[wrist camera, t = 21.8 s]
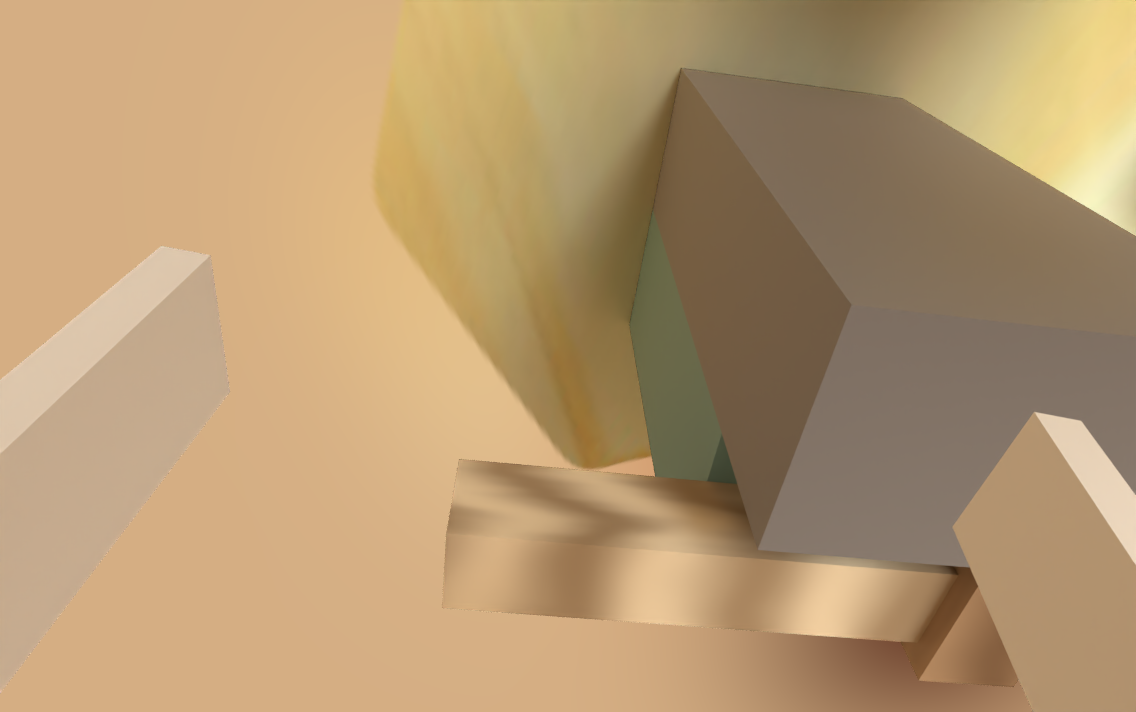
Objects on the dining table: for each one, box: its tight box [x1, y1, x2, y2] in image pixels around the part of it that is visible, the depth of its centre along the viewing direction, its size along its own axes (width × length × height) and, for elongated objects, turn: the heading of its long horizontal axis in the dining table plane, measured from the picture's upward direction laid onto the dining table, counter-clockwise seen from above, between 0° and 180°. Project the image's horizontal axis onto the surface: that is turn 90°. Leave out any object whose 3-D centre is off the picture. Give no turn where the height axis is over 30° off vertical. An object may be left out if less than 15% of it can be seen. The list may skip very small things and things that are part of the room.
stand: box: [629, 68, 1136, 568], centre depth 37 cm, size 14×18×30 cm
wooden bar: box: [442, 459, 1019, 687], centre depth 29 cm, size 23×6×5 cm, turn 83°
